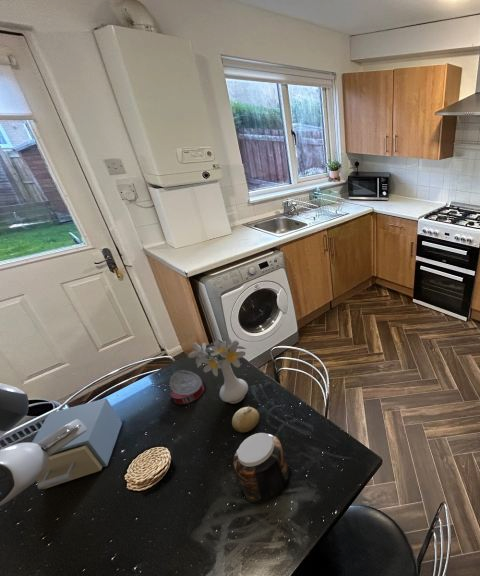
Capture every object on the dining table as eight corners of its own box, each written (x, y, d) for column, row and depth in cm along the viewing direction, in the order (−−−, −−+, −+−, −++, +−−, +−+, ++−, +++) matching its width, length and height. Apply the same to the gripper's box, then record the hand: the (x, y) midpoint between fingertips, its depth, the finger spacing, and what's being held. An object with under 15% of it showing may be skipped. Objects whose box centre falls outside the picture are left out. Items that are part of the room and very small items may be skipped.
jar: (270, 511, 79) (258, 477, 72) (234, 494, 83) (219, 460, 75) (296, 467, 89) (288, 434, 81) (263, 454, 92) (252, 421, 85)
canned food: (197, 391, 120) (203, 367, 119) (204, 404, 113) (210, 379, 112) (162, 394, 112) (168, 369, 111) (167, 409, 105) (173, 382, 104)
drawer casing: (107, 466, 90) (87, 440, 84) (45, 486, 85) (20, 460, 79) (122, 422, 102) (106, 397, 97) (69, 438, 98) (49, 413, 92)
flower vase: (218, 383, 117) (198, 330, 105) (266, 384, 116) (251, 331, 104) (198, 412, 106) (173, 356, 94) (251, 414, 105) (233, 358, 93)
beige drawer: (95, 486, 84) (77, 465, 79) (34, 507, 79) (11, 485, 75) (116, 428, 99) (102, 407, 94) (66, 443, 95) (49, 422, 90)
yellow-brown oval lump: (249, 439, 97) (244, 424, 93) (229, 432, 99) (223, 417, 96) (265, 418, 103) (261, 403, 100) (246, 412, 106) (241, 397, 102)
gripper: (67, 415, 66) (79, 411, 77) (-76, 506, 54) (-38, 486, 64) (88, 437, 67) (97, 430, 78) (-48, 531, 55) (-15, 507, 65)
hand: (35, 456), depth 71 cm, fingers open, 8 cm apart
